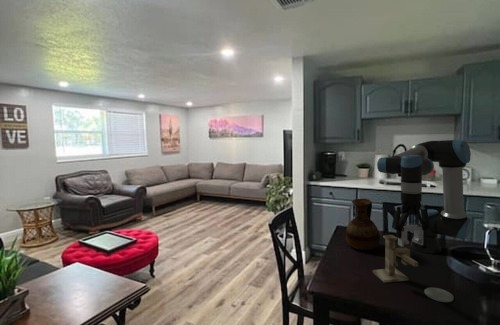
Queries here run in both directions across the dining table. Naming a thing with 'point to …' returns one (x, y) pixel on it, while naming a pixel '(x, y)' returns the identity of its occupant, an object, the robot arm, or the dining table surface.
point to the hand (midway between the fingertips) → (410, 244)
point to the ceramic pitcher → (362, 227)
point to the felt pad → (439, 294)
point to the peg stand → (391, 272)
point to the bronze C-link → (398, 251)
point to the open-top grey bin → (417, 233)
